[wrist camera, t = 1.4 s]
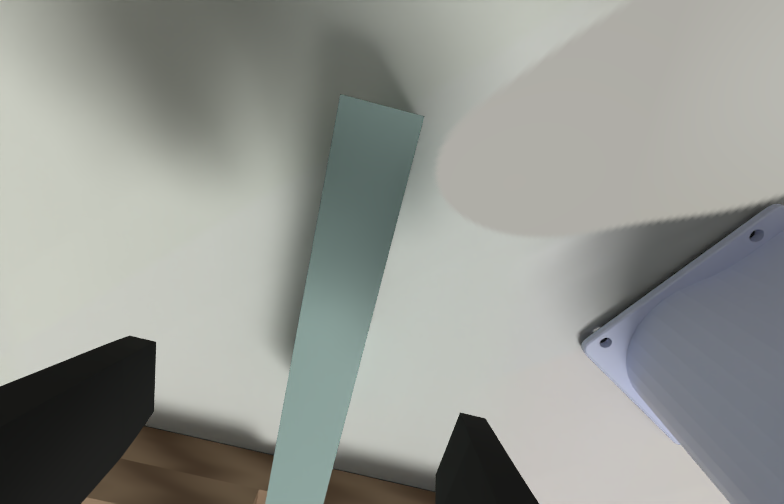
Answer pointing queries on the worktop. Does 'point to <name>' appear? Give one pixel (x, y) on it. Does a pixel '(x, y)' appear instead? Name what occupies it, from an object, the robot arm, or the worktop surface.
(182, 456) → the slotted board
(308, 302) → the slotted plate
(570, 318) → the worktop surface
